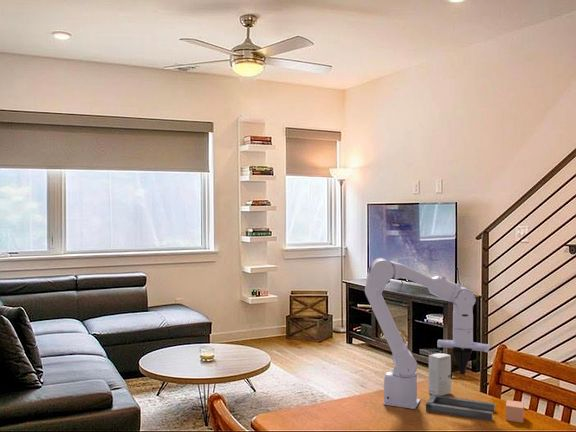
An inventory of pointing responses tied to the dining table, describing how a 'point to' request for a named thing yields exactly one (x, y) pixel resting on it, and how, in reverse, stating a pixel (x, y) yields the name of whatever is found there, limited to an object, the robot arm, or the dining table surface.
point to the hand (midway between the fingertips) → (462, 373)
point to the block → (514, 411)
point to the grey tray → (461, 407)
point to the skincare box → (440, 374)
